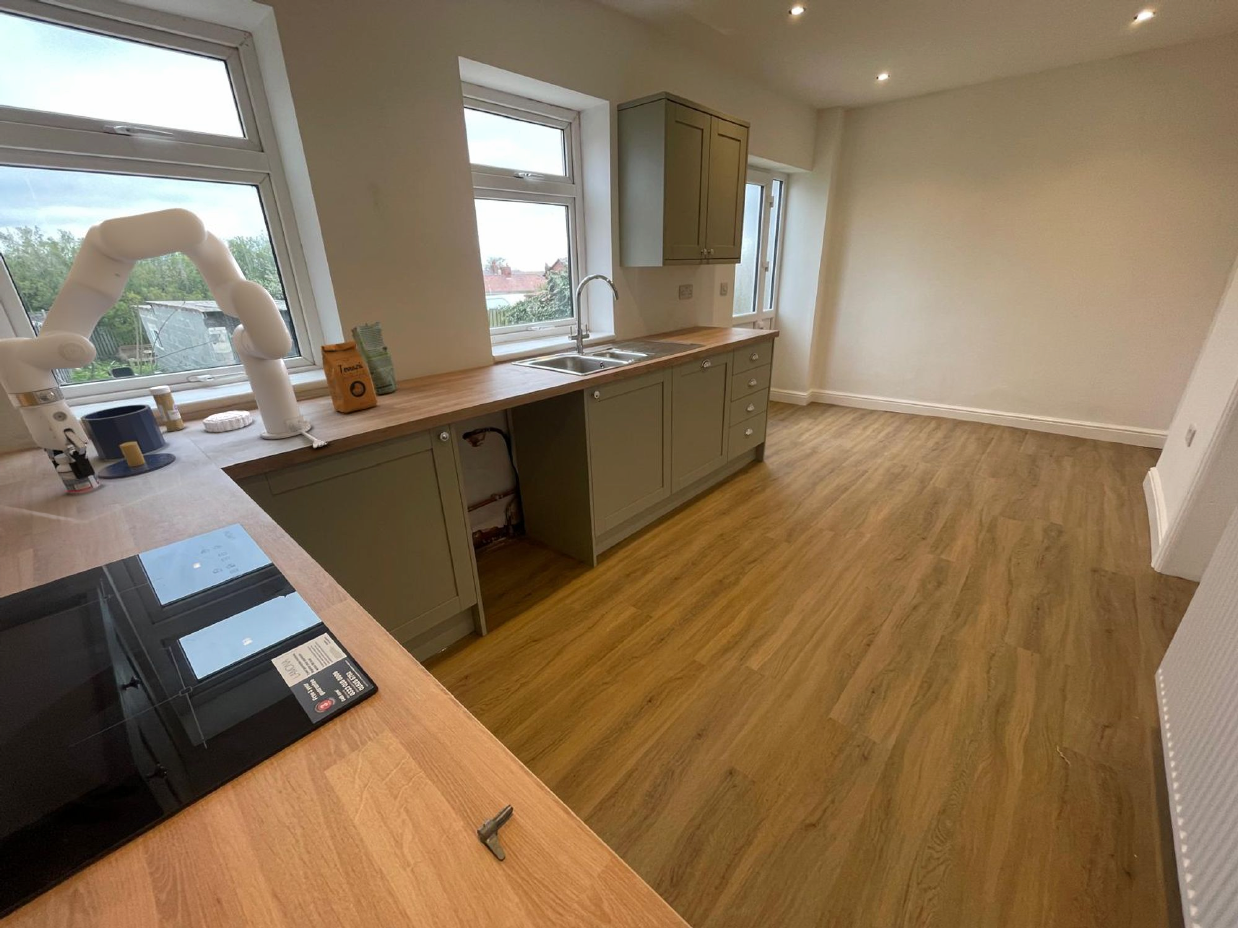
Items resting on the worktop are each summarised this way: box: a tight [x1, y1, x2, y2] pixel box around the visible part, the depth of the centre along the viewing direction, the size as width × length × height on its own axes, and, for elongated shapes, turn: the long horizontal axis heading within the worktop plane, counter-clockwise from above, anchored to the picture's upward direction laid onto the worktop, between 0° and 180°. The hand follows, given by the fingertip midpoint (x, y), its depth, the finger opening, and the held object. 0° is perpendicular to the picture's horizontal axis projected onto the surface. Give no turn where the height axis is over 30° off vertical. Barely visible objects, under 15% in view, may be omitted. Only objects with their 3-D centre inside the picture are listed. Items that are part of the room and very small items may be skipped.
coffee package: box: [320, 339, 378, 413], centre depth 163 cm, size 10×12×22 cm
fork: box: [301, 431, 329, 449], centre depth 139 cm, size 3×20×2 cm, turn 45°
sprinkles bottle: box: [149, 385, 186, 432], centre depth 153 cm, size 5×5×14 cm
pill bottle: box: [54, 450, 101, 494], centre depth 113 cm, size 5×5×9 cm
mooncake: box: [202, 410, 253, 433], centre depth 155 cm, size 12×12×4 cm
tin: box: [79, 404, 167, 461], centre depth 135 cm, size 14×14×12 cm
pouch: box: [350, 321, 398, 395], centre depth 183 cm, size 11×12×25 cm
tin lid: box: [97, 442, 176, 480], centre depth 125 cm, size 15×15×7 cm
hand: (77, 474), depth 113 cm, fingers closed on pill bottle, 5 cm apart
